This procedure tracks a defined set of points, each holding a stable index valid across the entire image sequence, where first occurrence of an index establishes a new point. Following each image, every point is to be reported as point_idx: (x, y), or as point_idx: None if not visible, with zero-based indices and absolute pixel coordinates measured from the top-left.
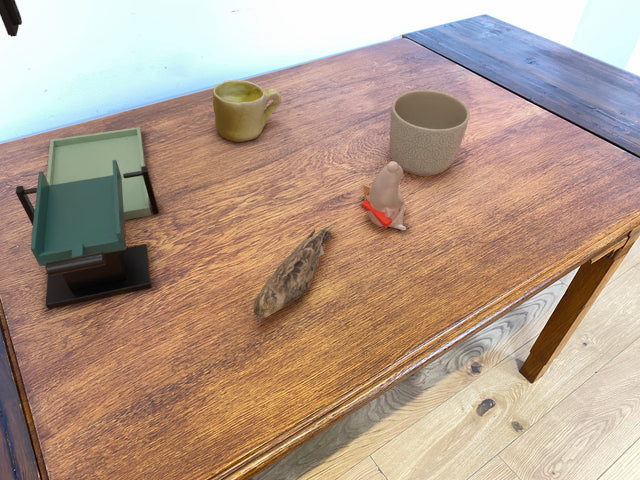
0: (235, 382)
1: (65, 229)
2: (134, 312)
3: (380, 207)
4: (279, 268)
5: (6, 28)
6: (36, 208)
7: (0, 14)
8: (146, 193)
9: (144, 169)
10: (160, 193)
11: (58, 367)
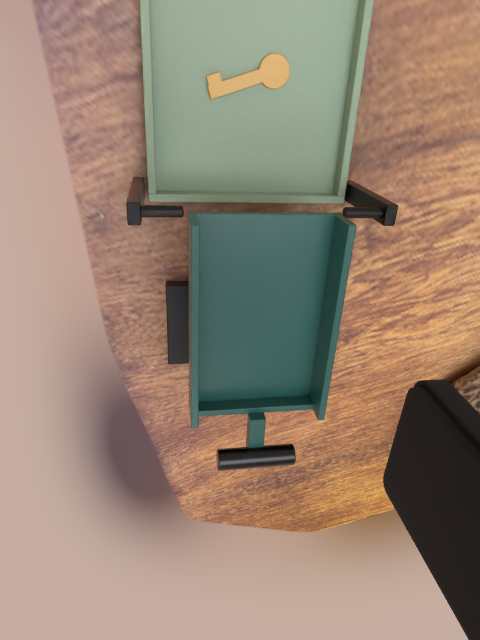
0: (355, 474)
1: (229, 348)
2: None
3: None
4: (469, 399)
5: (401, 511)
6: (194, 342)
7: (436, 577)
8: (348, 157)
9: (391, 218)
10: (367, 135)
11: (186, 434)
